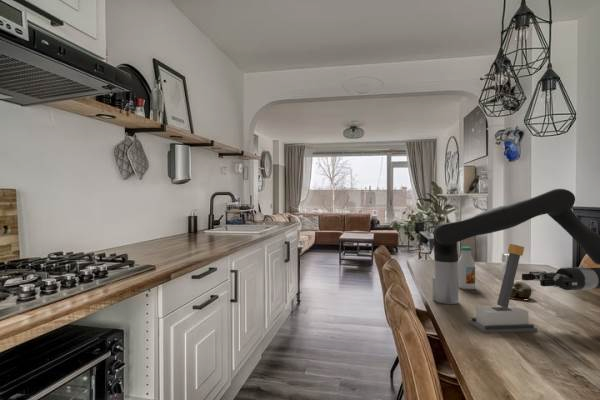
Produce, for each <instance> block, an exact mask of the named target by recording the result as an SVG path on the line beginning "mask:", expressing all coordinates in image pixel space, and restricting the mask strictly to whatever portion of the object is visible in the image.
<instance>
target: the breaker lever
mask: <svg viewBox="0 0 600 400" xmlns="http://www.w3.org/2000/svg"><path fill="white" fill-rule="evenodd" d="M524 251H525V246H523V245H522V246H521V245H518V244H513V243H509V245H508V248H507V254H509V257H508V261H507V266H506V270H505V274H503V279H502V284H501V287H500V291H499V296H498V299H497V305H496V306H502V307H505V308H508V306H509V303H510V299H511V298H510V296H511V292H512V287H513V283H514V279H515V275H516V276H517V271H518V266H519V262H520V258H521V257H522V256H523V255H524Z"/></svg>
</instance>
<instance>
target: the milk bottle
mask: <svg viewBox="0 0 600 400" xmlns="http://www.w3.org/2000/svg"><path fill="white" fill-rule="evenodd" d="M460 251H461V253H460V257H458V289H463V290H474V289H476V263H475V260H474V258H473V256H472V247H471V246H461V247H460Z"/></svg>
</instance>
